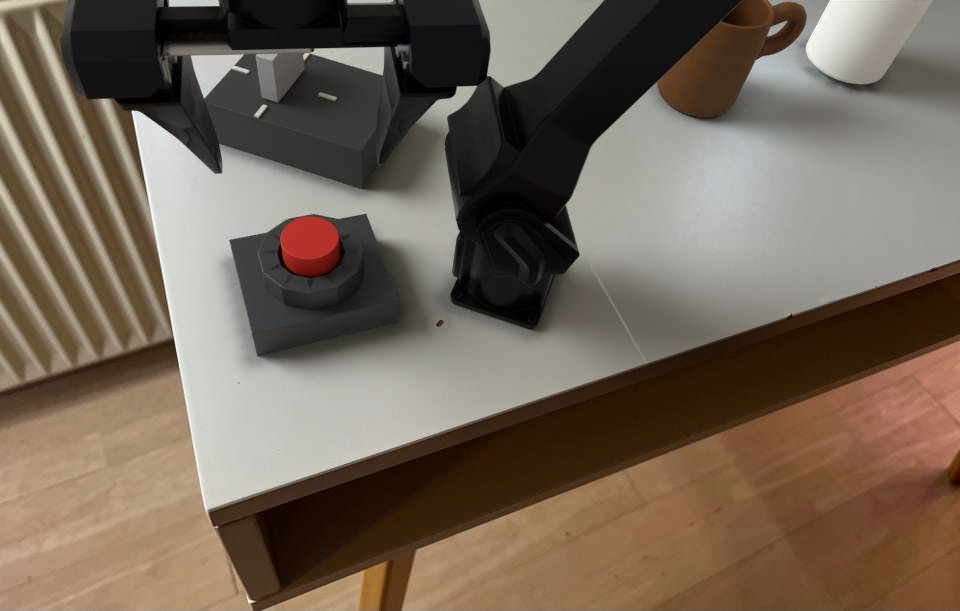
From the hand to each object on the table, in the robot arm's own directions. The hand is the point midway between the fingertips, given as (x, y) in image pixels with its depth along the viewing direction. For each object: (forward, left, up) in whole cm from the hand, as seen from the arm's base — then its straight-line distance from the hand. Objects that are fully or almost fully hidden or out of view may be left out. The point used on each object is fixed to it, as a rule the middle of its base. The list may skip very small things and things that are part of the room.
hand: (301, 163), depth 42 cm
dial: (+9, -15, -8) cm, 19 cm away
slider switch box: (+7, -15, -12) cm, 21 cm away
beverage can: (-36, -47, -12) cm, 60 cm away
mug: (-24, -36, -12) cm, 45 cm away
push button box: (0, 0, -12) cm, 12 cm away
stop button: (0, 0, -8) cm, 8 cm away
